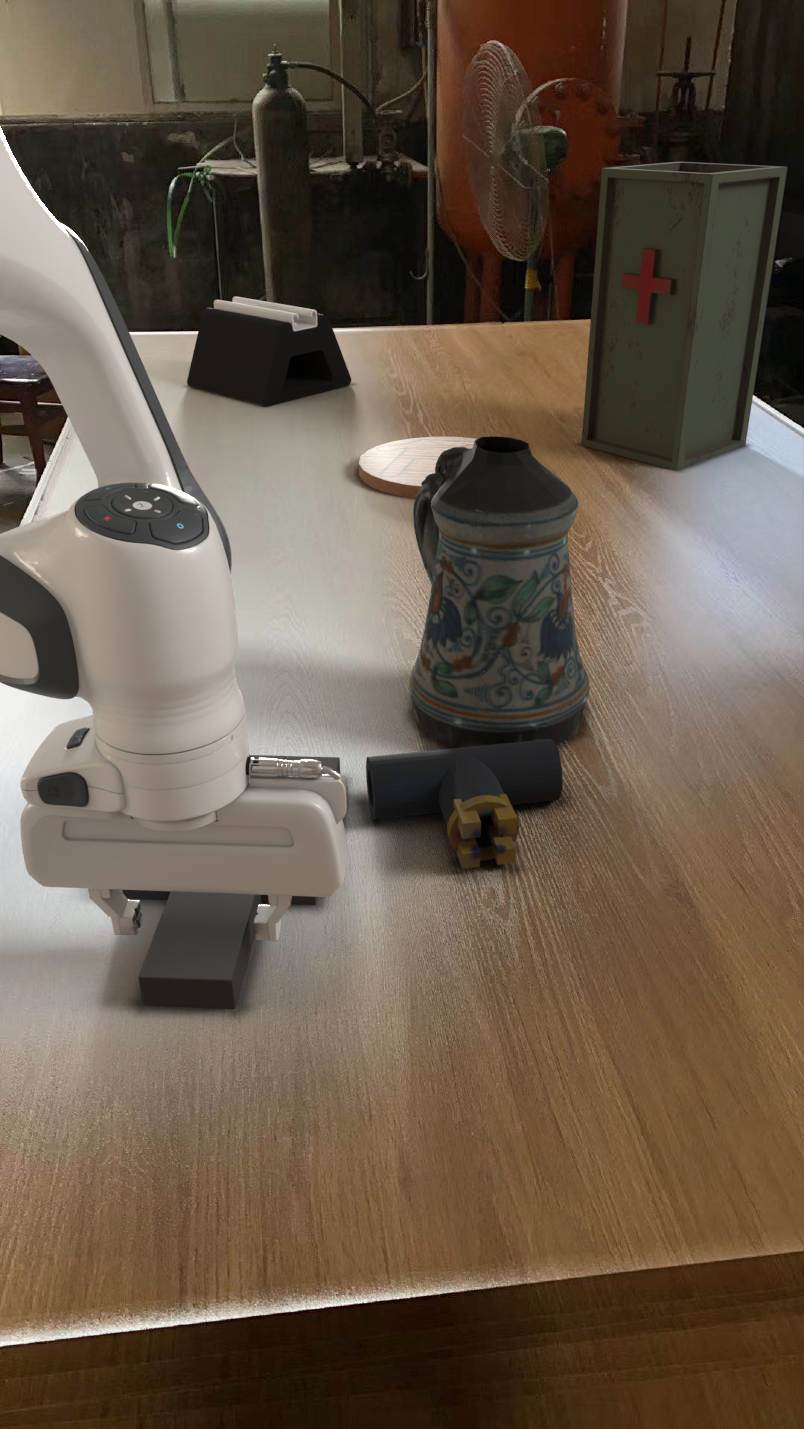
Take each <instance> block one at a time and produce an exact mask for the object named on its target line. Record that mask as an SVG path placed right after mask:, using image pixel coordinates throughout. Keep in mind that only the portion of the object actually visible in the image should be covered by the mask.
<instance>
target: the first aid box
mask: <svg viewBox="0 0 804 1429" xmlns="http://www.w3.org/2000/svg"><path fill="white" fill-rule="evenodd" d="M787 173H788V166H778V165H757V164H737V163H736V164H735V163H731V164H730V163H714V162H697V161H696V162H695V161H694V162H693V161H671V162H658V163H657V162H656V163H646V164H636V165H635V164H633V165H623V166H612V167H610V166H609V167H601V173H600V174H601V176H600V189H599V202H598V204H599V205H598V216H597V229H596V242H595V243H596V244H595V256H594V267H593V268H594V271H593V284H592V296H591V300H592V301H591V309H590V323H589V324H590V325H589V338H588V350H587V351H588V352H587V364H586V378H585V391H584V392H585V393H584V403H583V404H584V406H583V415H582V416H583V418H582V432H581V446H583V447H587V448H591V449H594V450H599V451H601V452H602V451H603V452H606V453H609V454H614V455H618V456H621V457H625V458H629V459H632V460H636V461H639V462H644V463H647V464H651V465H655V466H658V467H662V468H666V469H669V470H673V471H680V470H682V469H685V468H688V467H690V466H691V467H692V466H694V465H696V464H699V463H701V462H704V461H708V460H711V459H713V458H715V457H719V456H721V455H724V454H727V453H730V452H732V451H735V450H737V449H740V448H743V447H746V444H747V438H748V431H749V426H750V425H749V424H750V418H751V412H752V405H753V398H754V392H755V384H756V378H757V371H758V365H759V359H760V352H761V346H762V339H763V331H764V325H765V319H766V313H767V312H766V311H767V306H768V298H769V293H770V292H769V291H770V286H771V281H772V280H771V279H772V272H773V265H774V261H775V260H774V259H775V253H776V246H777V240H778V233H779V227H780V221H781V220H780V219H781V214H782V207H783V200H784V194H785V186H786V180H787Z"/></svg>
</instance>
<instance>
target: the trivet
mask: <svg viewBox="0 0 804 1429" xmlns="http://www.w3.org/2000/svg"><path fill="white" fill-rule="evenodd" d="M476 439H477V438H473V437H462V436H424V437H423V436H422V437H412V438H404V439H397V440H393V441H390V442H385V443H382V444H378V445H377V446H376V445H375V446H374V447H372V448H370V449H368V450H366V451H365V452H364V453H362V454H361V455H360V457H359V460H358V475H359V477H360V479H361V480H362V482H363V483H365V484H366V485H368V486H369V487H370V488H372V489H375V490H377V491H380V492H382V493H386V494H387V495H393V496H399V497H405V498H410V499H415V498H416V496H417V494H418V492H419V490H420V488H421V487H422V485H421V483H422V482H423V481H424V480H425V478H426V477H427V476H428V475H430V474H433V473H435V467H436V463H437V460H438V458H439V457H440V455H441V453H442V452H443V451H446V450H448V449H451V448H454V447H465V448H470V449H471V448H473V445H474V441H475V440H476Z"/></svg>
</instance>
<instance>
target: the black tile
mask: <svg viewBox="0 0 804 1429" xmlns="http://www.w3.org/2000/svg"><path fill="white" fill-rule="evenodd" d="M258 905H263V904H262V901H261V895H258V894H230V893H203V892H175V891H171V892H170V895H169V897H168V900H166V903H165V906H164V908H163V911H162V914H161V916H160V919H159V922H158V924H157V926H156V929H155V932H154V935H153V937H152V940H151V942H150V945H149V948H148V950H147V953H146V955H145V958H144V961H143V964H142V967H141V969H140V972H139V975H138V984H139V989H140V995H141V996H140V997H141V1000H142V1006H145V1007H147V1006H148V1007H168V1008H169V1007H172V1008H196V1009H197V1008H200V1009H201V1008H203V1009H225V1010H226V1009H227V1010H228V1009H229V1010H235V1009H236V1008H237V1005H238V1002H239V997H240V993H241V989H242V986H243V982H244V978H245V975H246V970H247V967H248V963H249V959H250V956H251V952H252V948H253V944H254V940H255V933H256V932H255V931H254V919H255V916H256V915H257V908H258Z"/></svg>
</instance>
